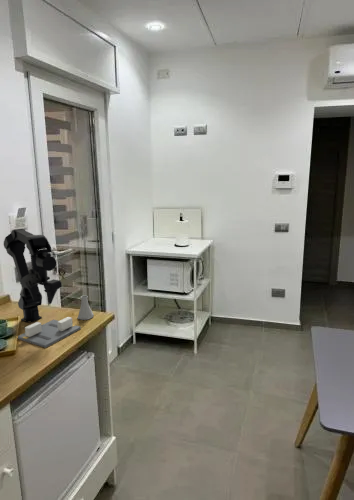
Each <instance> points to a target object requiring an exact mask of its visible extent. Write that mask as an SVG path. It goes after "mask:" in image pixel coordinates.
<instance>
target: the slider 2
mask: <svg viewBox="0 0 354 500" xmlns="http://www.w3.org/2000/svg"><path fill="white" fill-rule="evenodd" d="M57 325H58V330H60V331H63V330H65V329H67V328H69V327H71V326H73V325H74V324H73V317H70V316H67V317H64V318H62V319H60V320H58V322H57Z"/></svg>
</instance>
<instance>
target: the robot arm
mask: <svg viewBox="0 0 354 500" xmlns="http://www.w3.org/2000/svg"><path fill="white" fill-rule="evenodd" d="M3 247H4V249H5V250H6V253H7V254H8V255H9V256H10V257H11V258H12V259H13V262H14V265H15V266H14V267H15V269H16V273H17V275H18V279H19V285H21V289H20V293H19V299H18V302H17V305H18V308H19V309H21V310H22V311H23V312H22V313H23V317H22V318H20V321H24V322H26V323H30V324H32V323H34V322H35V321H36V322H37V320H40V319H42V316H40V313H39V311H40V310H39V306H42V303H43V295H42V293H41V291H40V289H39V286H38V285H40V286H43V288H44V290H43V291H44V292H45V293H46V295H47V302H48V304H49V305H51V304H52V302H53V301H54V298H55V295H56V293H57V291H58V290H59V289H60V288H62V281H61V280H58V279H51V278H50V276H48V272H51V271H53V270H54V269H55V268H56V267H57V260H56V258H55V257H53V256H52V247H51V245H50V242H49V241H48V238H47V237H46V236H45V235H44V234H33V233H32V232H29V231H27V230H26V229H25V228H17V229H15V228H14V229H12V230H11V231H10V233H9V234H8V235H7V236H5V238H4V239H3ZM26 249H27V250H28V251H29V252H28V254H29V255H30V263H31V268H29V267H28V264H27V261H26V258H25V251H26ZM50 279H51V280H50Z"/></svg>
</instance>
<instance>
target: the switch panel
mask: <svg viewBox="0 0 354 500" xmlns="http://www.w3.org/2000/svg"><path fill="white" fill-rule="evenodd" d="M58 321H59V320H58V319H52V320H49V321H48V322H45V323H43V324H41V327H42V331H41V332H39V333H37V334H35V335H33V336H31V337H28V336H26V334H25V332H24V333H22V334H19V335H17V336H18V340H20V341H23V342H25V343H28V344H31V345H32V344H33V345H35V346H39V347H42V348H45V349H46V348H48V347H50V346H52V345H54V344H56V343H58V342H59V341H61V340H63V339H65V338H67V337H69V336H71V335H72V334H74V333H76V332H78V331H79V330H81V329H82V327H81V326H80V325H77V324H76V325H75V324H73V326H71V327H69V328H67V329H65V330H63V331H60V330H58V325H57V322H58Z"/></svg>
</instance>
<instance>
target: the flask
mask: <svg viewBox="0 0 354 500" xmlns="http://www.w3.org/2000/svg"><path fill="white" fill-rule="evenodd" d="M88 297H89V296H88V295H81V296H80V299H81V302H80V303H81V304H80V308H79V312H78V315H77V319H78V320H81V321H86V320H90V319H92V318H94V313H93V310H92V309H91V307H90V304H89V301H88Z"/></svg>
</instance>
